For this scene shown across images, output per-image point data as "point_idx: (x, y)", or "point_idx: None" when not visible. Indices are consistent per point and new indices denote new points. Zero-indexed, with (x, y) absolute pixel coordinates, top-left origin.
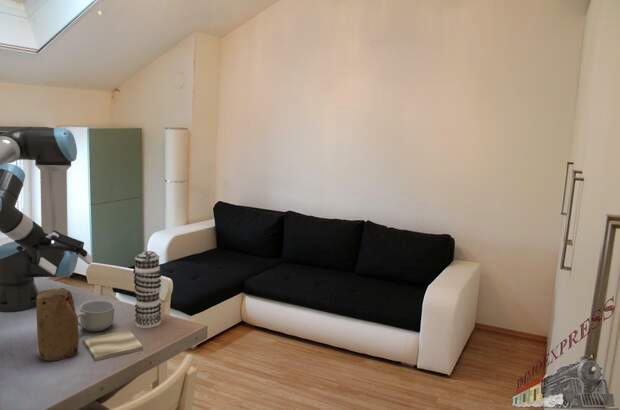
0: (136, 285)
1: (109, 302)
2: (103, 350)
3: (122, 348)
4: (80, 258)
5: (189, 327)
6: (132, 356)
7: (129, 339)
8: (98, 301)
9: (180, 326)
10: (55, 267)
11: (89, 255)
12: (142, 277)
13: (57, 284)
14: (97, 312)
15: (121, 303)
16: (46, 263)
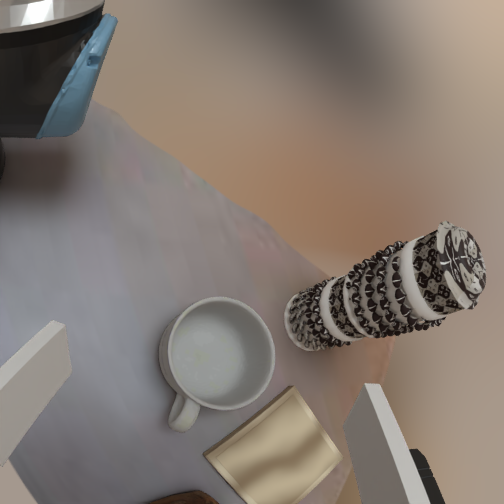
0: (355, 291)
1: (247, 310)
2: (278, 499)
3: (311, 480)
4: (359, 491)
5: (381, 337)
6: (327, 485)
7: (312, 437)
8: (210, 302)
9: None
10: (60, 337)
11: (385, 406)
12: (419, 330)
13: None
14: (245, 405)
15: (208, 188)
16: (14, 403)
